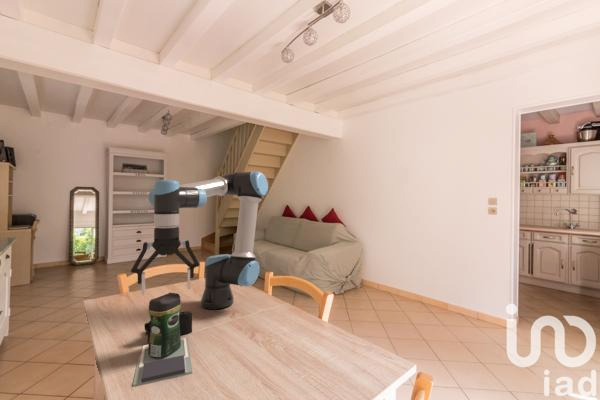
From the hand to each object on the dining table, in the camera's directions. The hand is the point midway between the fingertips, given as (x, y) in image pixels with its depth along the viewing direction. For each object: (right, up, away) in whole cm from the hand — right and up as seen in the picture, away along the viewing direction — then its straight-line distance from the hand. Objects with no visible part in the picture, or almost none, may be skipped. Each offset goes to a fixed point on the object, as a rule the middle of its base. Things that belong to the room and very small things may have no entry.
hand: (166, 290), depth 92 cm
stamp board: (+1, -21, -4) cm, 21 cm away
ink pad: (+4, -21, -11) cm, 24 cm away
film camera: (-5, -21, +11) cm, 24 cm away
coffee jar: (0, -20, -1) cm, 20 cm away
